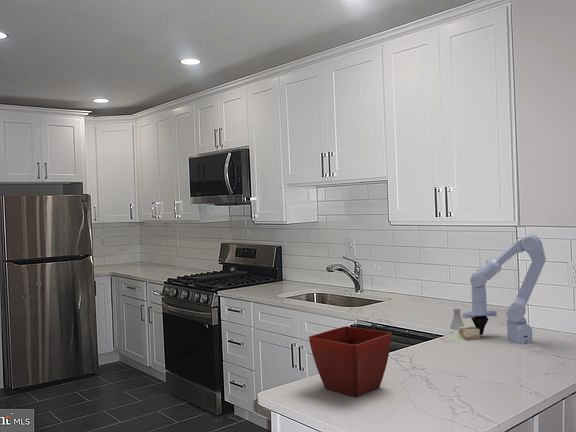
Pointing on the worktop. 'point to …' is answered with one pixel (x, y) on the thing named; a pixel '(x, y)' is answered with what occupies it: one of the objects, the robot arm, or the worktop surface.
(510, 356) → the worktop surface
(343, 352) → the plant pot
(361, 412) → the worktop surface
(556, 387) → the worktop surface
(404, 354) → the worktop surface
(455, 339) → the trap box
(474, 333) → the birch block
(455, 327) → the flask
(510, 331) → the robot arm
